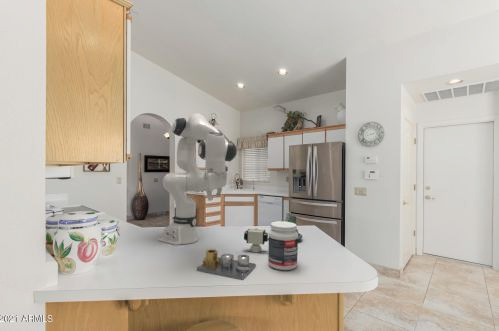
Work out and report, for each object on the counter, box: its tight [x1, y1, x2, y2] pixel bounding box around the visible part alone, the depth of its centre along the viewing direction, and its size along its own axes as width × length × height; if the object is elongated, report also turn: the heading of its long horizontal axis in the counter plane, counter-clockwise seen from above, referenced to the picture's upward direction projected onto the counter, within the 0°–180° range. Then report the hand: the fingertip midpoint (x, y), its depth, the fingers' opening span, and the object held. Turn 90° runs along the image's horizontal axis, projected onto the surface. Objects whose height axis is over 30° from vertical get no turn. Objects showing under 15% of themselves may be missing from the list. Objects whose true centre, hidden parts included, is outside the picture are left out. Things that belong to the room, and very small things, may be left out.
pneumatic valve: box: [243, 227, 269, 254], centre depth 130 cm, size 6×12×12 cm, turn 78°
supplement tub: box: [267, 220, 299, 271], centre depth 113 cm, size 13×13×18 cm
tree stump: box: [267, 213, 303, 242], centre depth 151 cm, size 18×20×18 cm
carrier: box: [196, 253, 257, 281], centre depth 108 cm, size 21×14×7 cm, turn 68°
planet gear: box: [202, 248, 221, 266], centre depth 111 cm, size 7×7×5 cm
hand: (214, 198), depth 115 cm, fingers open, 8 cm apart
